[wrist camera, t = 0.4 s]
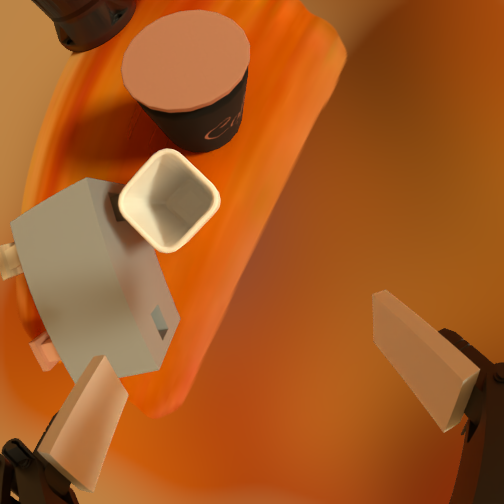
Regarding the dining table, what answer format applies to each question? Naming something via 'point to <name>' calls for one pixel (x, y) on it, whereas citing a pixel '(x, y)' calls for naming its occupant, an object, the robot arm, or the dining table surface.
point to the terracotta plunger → (45, 351)
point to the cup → (168, 200)
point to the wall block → (95, 280)
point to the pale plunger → (9, 261)
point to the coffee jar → (190, 77)
